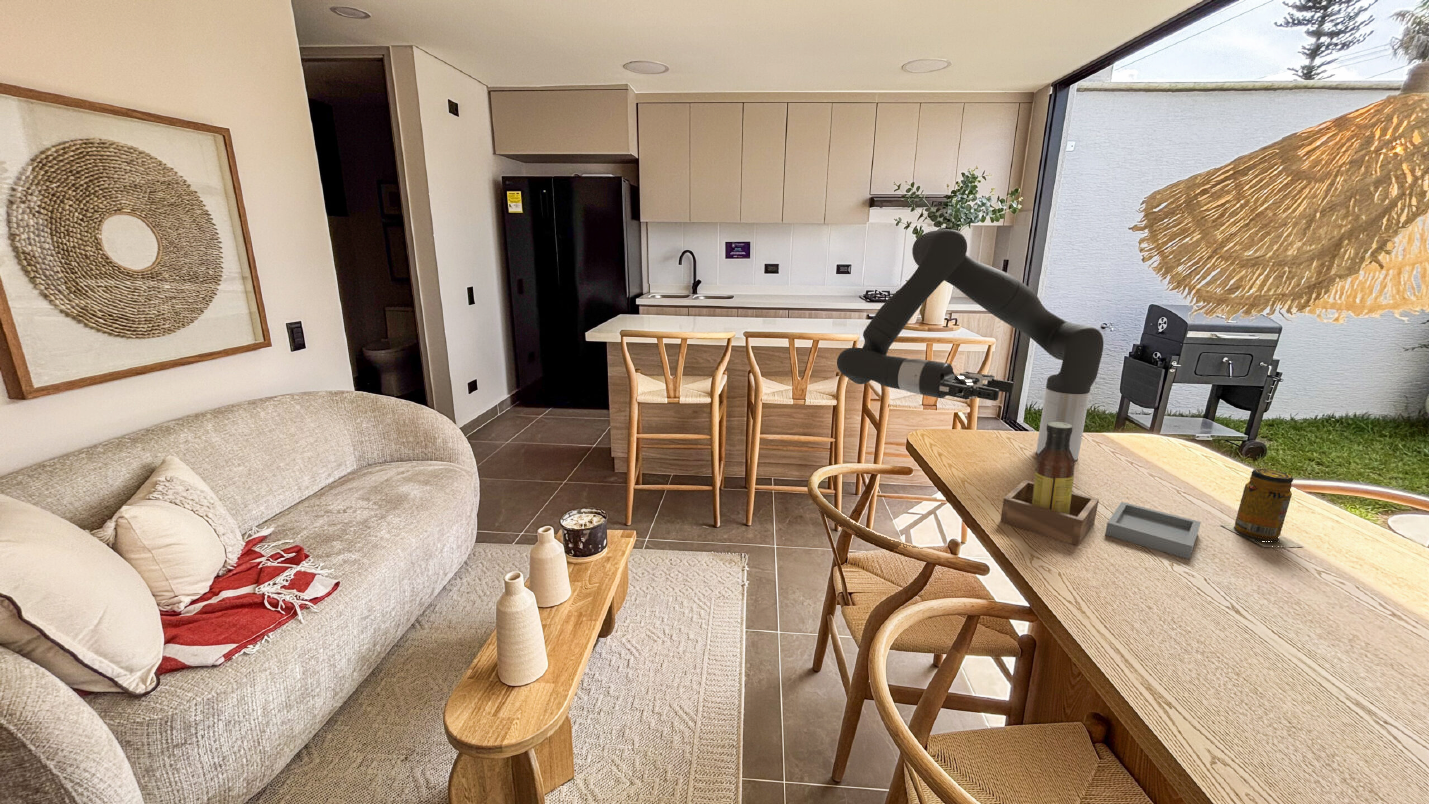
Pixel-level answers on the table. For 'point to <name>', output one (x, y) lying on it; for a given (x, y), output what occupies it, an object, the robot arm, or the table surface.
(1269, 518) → the condiment
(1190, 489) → the table surface
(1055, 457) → the sauce bottle
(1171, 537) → the tray
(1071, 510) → the holder
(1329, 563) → the table surface
